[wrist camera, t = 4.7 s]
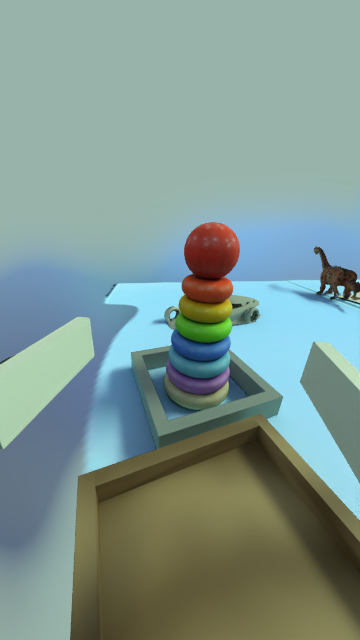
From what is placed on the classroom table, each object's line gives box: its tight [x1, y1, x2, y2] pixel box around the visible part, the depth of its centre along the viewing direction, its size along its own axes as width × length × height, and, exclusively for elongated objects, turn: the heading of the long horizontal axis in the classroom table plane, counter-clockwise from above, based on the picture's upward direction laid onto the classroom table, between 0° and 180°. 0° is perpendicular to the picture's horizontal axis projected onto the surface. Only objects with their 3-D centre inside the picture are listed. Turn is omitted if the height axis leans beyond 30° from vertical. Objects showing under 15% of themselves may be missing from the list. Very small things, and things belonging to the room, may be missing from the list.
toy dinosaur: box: [314, 246, 360, 300], centre depth 66 cm, size 8×30×15 cm, turn 1°
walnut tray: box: [70, 414, 360, 640], centre depth 10 cm, size 15×15×3 cm
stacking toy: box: [164, 222, 240, 410], centre depth 22 cm, size 8×8×19 cm
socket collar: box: [131, 346, 283, 449], centre depth 25 cm, size 13×13×2 cm
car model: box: [164, 295, 260, 329], centre depth 46 cm, size 11×24×5 cm, turn 126°
